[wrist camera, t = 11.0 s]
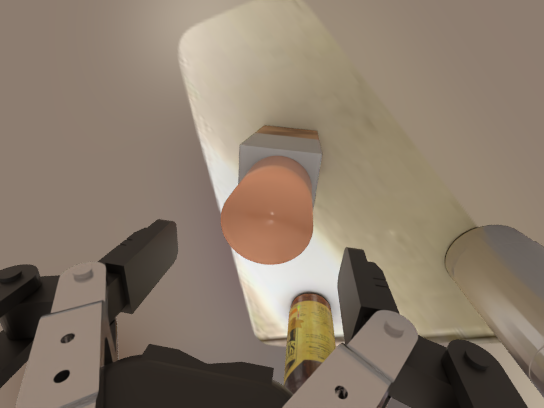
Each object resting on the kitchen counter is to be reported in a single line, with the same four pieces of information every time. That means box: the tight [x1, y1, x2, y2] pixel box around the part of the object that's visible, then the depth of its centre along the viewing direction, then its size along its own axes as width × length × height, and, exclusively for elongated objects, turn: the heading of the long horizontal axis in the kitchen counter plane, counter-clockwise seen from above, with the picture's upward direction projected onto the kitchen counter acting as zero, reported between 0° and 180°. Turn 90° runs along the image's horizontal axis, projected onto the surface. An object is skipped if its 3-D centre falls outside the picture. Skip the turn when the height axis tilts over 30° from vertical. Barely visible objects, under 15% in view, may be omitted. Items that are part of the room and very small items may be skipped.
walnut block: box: [256, 126, 319, 140], centre depth 28 cm, size 6×6×6 cm
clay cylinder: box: [221, 156, 313, 265], centre depth 17 cm, size 5×5×6 cm
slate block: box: [238, 133, 322, 207], centre depth 23 cm, size 6×6×6 cm
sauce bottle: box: [284, 293, 335, 394], centre depth 31 cm, size 7×6×20 cm
